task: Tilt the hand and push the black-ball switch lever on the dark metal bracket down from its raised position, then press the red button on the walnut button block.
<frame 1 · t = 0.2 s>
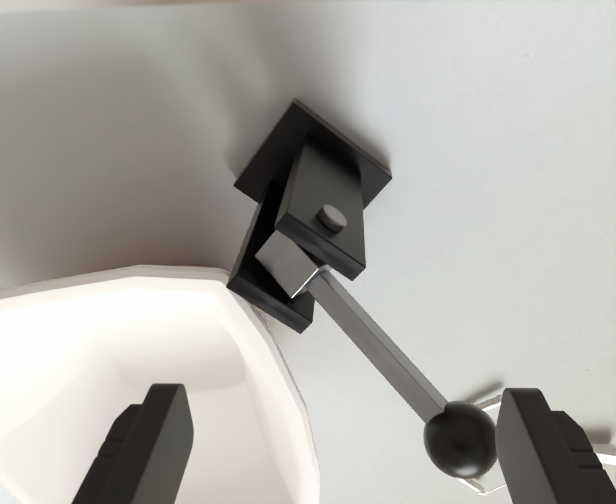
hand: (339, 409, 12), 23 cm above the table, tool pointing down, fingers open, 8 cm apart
crossbow: (518, 440, 45), on the table
bracket: (312, 175, 33), on the table
bowl: (175, 330, 42), on the table
lever: (376, 345, 23), point 14 cm above the table, hinge at 30.0°
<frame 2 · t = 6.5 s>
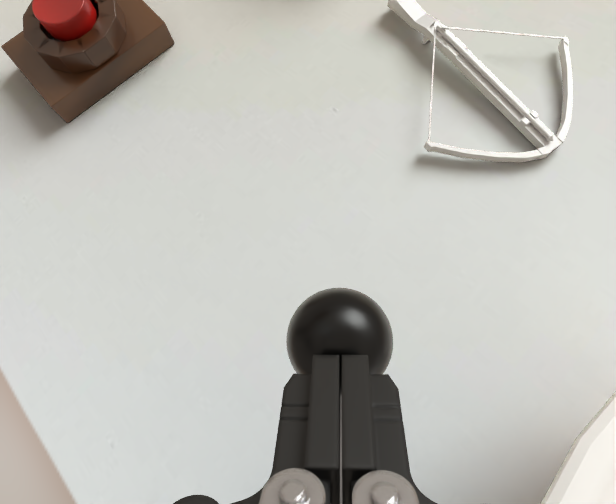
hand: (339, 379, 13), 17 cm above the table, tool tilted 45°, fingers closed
crossbow: (466, 77, 35), on the table
button: (65, 10, 33), point 4 cm above the table, slide at 0.1 cm
button block: (96, 54, 37), on the table
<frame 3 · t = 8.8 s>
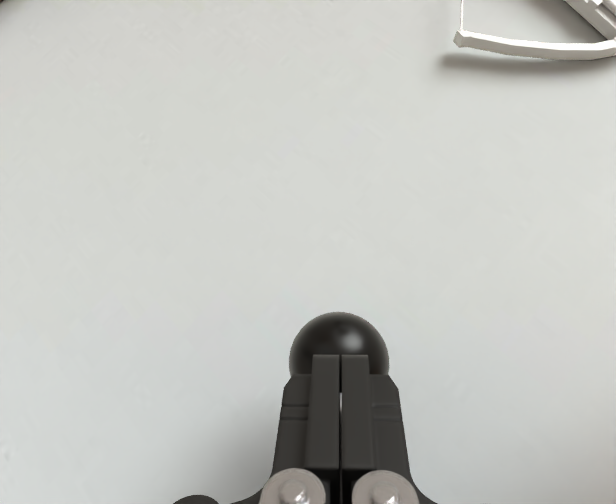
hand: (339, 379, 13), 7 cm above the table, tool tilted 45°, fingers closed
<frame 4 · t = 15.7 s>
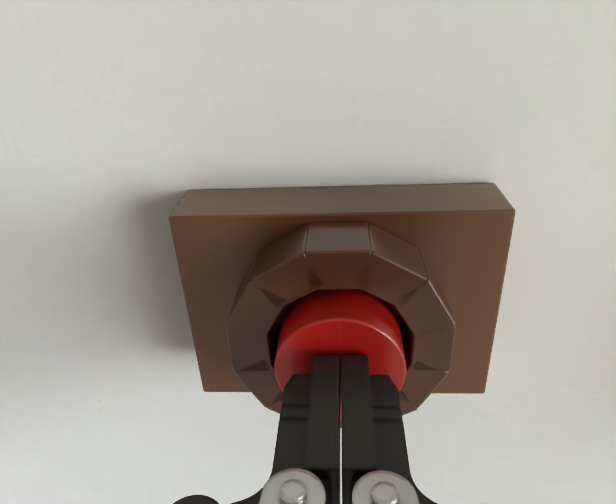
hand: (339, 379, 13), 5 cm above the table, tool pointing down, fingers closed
button: (339, 351, 14), point 4 cm above the table, slide at -0.3 cm, touching gripper
button block: (339, 277, 18), on the table
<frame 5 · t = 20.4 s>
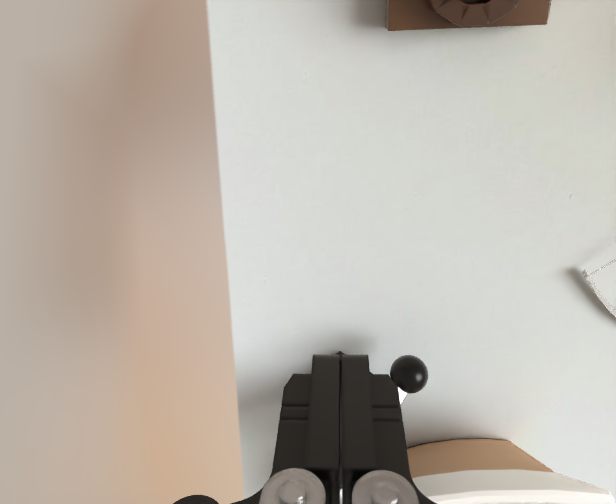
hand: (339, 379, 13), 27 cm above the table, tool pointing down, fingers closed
bracket: (339, 391, 50), on the table
bowl: (457, 476, 55), on the table
lever: (375, 429, 41), point 8 cm above the table, hinge at -35.2°
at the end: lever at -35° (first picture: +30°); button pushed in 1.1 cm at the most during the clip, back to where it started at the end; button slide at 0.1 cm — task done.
